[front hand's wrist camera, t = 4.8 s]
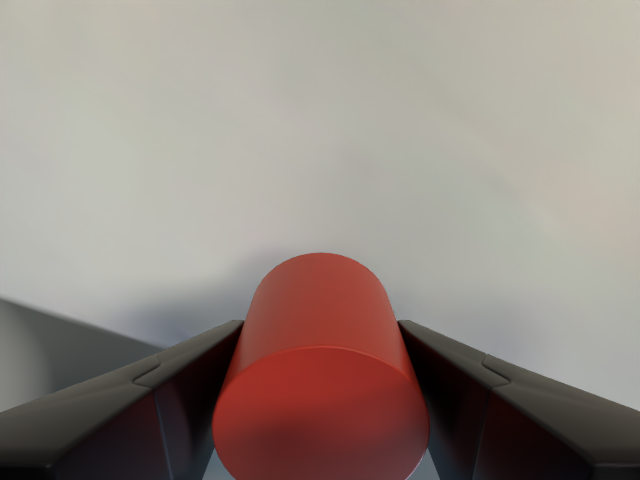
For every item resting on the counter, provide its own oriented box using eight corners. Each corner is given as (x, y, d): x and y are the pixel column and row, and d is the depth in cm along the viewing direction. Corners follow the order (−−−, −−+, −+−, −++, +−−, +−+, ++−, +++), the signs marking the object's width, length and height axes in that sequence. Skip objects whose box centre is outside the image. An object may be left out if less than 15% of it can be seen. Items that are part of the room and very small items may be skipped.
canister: (256, 243, 12) (214, 332, 7) (403, 261, 12) (456, 359, 7) (247, 365, 13) (208, 502, 9) (376, 379, 14) (405, 520, 9)
